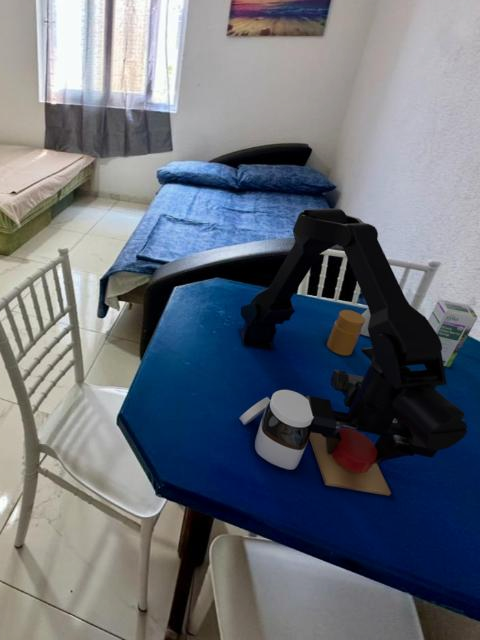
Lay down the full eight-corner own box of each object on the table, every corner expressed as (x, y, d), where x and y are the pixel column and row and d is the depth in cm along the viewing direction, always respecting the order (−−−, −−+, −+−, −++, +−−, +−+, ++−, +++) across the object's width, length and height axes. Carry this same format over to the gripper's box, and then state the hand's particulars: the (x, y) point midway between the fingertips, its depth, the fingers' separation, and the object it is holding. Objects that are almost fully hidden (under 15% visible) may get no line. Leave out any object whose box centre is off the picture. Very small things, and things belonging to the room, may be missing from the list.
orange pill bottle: (331, 353, 97) (343, 322, 93) (323, 338, 102) (335, 308, 97) (356, 357, 96) (370, 325, 92) (347, 341, 101) (360, 310, 97)
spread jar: (294, 483, 68) (314, 437, 63) (227, 450, 73) (240, 405, 68) (304, 432, 77) (322, 388, 72) (244, 406, 82) (257, 363, 77)
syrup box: (420, 361, 96) (447, 311, 89) (413, 345, 101) (438, 297, 94) (449, 368, 94) (479, 317, 87) (441, 352, 99) (469, 303, 92)
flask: (389, 341, 102) (404, 308, 97) (357, 336, 103) (371, 304, 98) (377, 323, 108) (391, 292, 103) (348, 319, 109) (360, 288, 105)
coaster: (325, 485, 68) (326, 482, 68) (307, 434, 77) (309, 431, 76) (389, 496, 67) (391, 493, 66) (364, 443, 75) (366, 440, 75)
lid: (371, 452, 72) (378, 440, 70) (369, 481, 67) (376, 468, 65) (331, 434, 75) (337, 421, 73) (326, 460, 70) (332, 447, 68)
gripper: (426, 369, 68) (391, 431, 76) (307, 348, 72) (285, 409, 80) (460, 422, 59) (416, 487, 66) (321, 394, 63) (295, 459, 70)
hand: (349, 456), depth 71 cm, fingers closed on lid, 6 cm apart
